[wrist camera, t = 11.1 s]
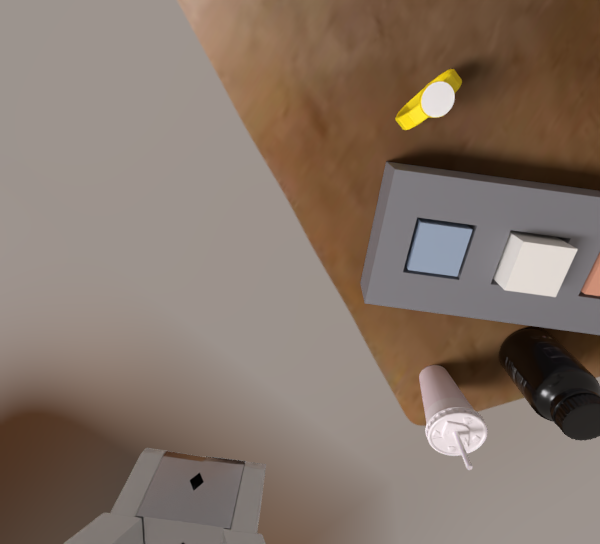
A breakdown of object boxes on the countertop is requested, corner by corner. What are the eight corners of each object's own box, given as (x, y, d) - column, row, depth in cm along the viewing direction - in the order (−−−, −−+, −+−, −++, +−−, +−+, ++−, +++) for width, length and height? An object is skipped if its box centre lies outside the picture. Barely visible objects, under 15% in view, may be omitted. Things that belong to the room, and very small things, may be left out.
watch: (435, 66, 35) (460, 55, 30) (452, 90, 36) (480, 83, 31) (385, 113, 37) (400, 111, 31) (402, 135, 38) (420, 137, 32)
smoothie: (444, 348, 48) (489, 438, 35) (467, 382, 50) (517, 478, 37) (399, 370, 50) (426, 463, 37) (423, 402, 51) (456, 501, 39)
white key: (486, 271, 40) (504, 290, 36) (502, 227, 38) (523, 241, 34) (532, 277, 40) (555, 297, 36) (551, 233, 38) (577, 249, 34)
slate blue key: (399, 254, 42) (408, 270, 38) (410, 210, 40) (420, 222, 36) (444, 260, 42) (457, 276, 38) (457, 216, 40) (472, 229, 36)
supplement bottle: (537, 376, 49) (599, 455, 38) (487, 364, 48) (536, 440, 37) (565, 333, 46) (642, 405, 35) (513, 319, 46) (573, 388, 35)
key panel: (360, 282, 45) (364, 303, 40) (386, 161, 39) (394, 169, 34) (611, 316, 45) (644, 341, 40) (674, 201, 39) (721, 214, 34)
